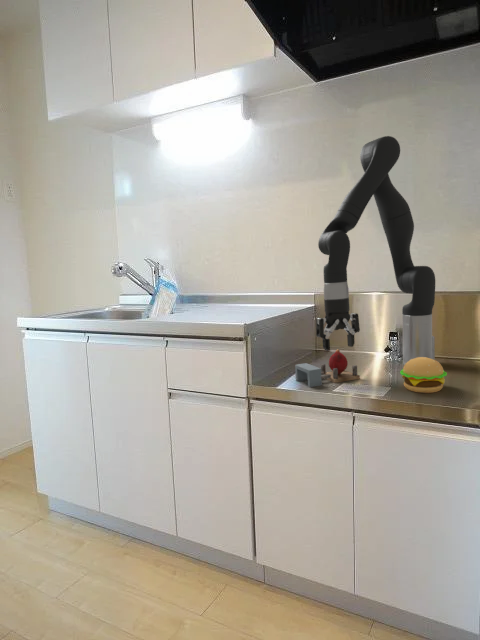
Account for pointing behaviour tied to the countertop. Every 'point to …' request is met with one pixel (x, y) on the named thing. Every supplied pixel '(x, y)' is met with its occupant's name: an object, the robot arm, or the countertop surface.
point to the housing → (308, 374)
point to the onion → (338, 362)
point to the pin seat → (341, 377)
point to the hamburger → (423, 375)
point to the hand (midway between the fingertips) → (339, 348)
